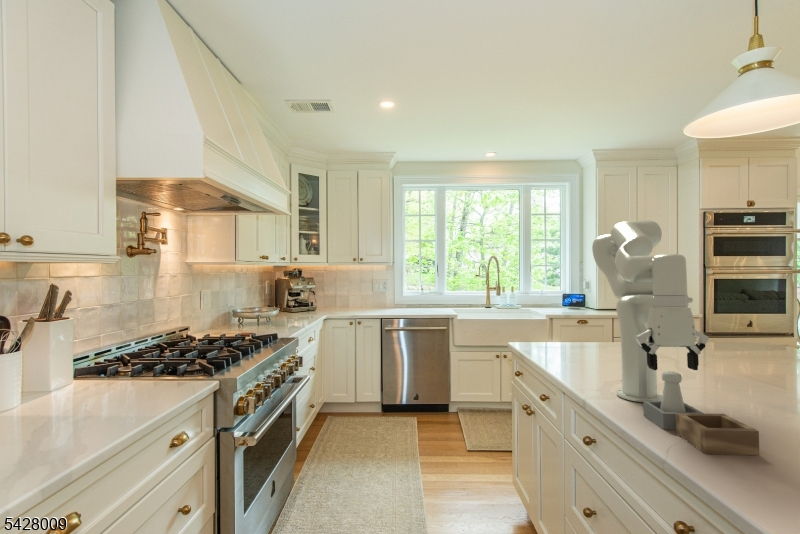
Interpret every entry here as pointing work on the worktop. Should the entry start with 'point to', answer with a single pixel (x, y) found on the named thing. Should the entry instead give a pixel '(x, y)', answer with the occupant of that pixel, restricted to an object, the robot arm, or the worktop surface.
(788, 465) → the worktop surface
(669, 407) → the salt shaker
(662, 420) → the grey open tray
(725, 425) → the brown wooden open box
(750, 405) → the worktop surface
